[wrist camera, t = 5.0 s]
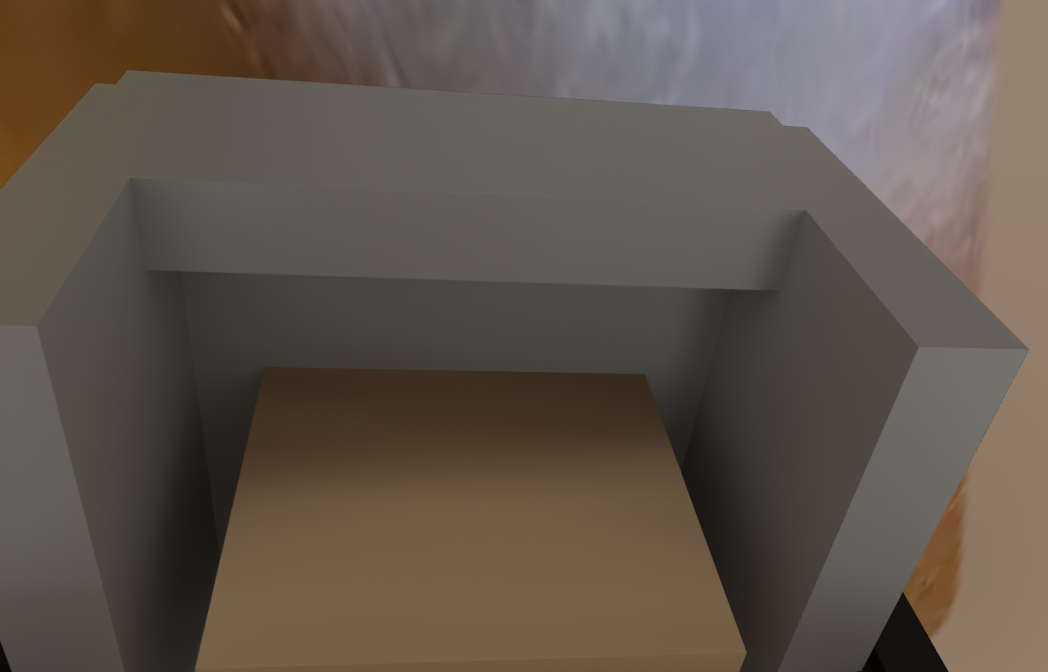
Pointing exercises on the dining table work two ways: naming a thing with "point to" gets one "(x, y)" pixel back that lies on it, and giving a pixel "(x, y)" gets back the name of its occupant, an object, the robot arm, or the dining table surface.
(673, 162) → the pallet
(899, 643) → the robot arm
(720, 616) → the tan block
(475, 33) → the dining table surface
